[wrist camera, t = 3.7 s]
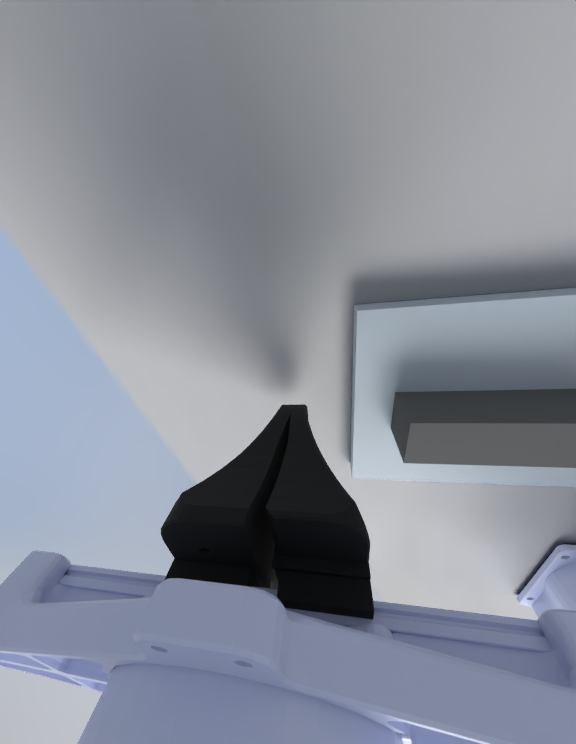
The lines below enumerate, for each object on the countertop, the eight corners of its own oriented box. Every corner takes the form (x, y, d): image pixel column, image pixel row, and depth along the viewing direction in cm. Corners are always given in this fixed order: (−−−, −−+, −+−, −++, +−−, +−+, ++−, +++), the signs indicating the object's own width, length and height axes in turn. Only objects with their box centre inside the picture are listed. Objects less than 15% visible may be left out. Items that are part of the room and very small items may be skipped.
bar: (559, 429, 12) (610, 469, 10) (390, 428, 13) (403, 463, 11) (581, 388, 11) (644, 423, 9) (395, 392, 12) (410, 423, 10)
